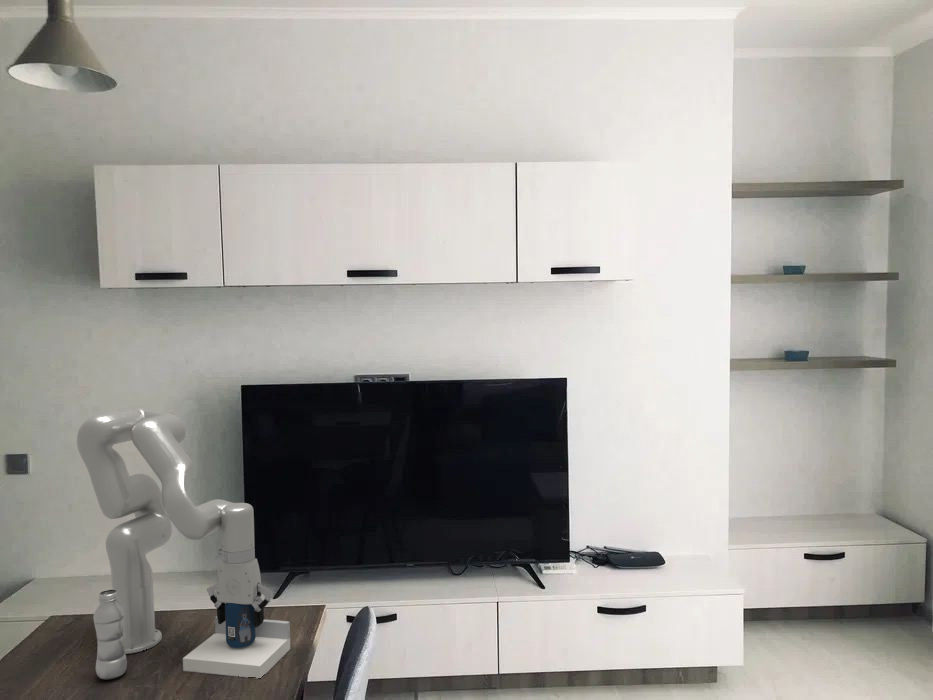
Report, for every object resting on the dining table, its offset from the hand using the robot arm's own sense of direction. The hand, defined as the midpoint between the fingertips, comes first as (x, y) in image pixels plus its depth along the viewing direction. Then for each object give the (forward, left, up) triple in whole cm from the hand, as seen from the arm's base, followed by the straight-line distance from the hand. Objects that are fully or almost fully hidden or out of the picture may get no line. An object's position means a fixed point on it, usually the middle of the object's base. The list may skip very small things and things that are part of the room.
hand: (240, 623), depth 176 cm
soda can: (0, 0, -5) cm, 5 cm away
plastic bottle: (-25, -15, -8) cm, 30 cm away
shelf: (0, -2, -8) cm, 8 cm away
